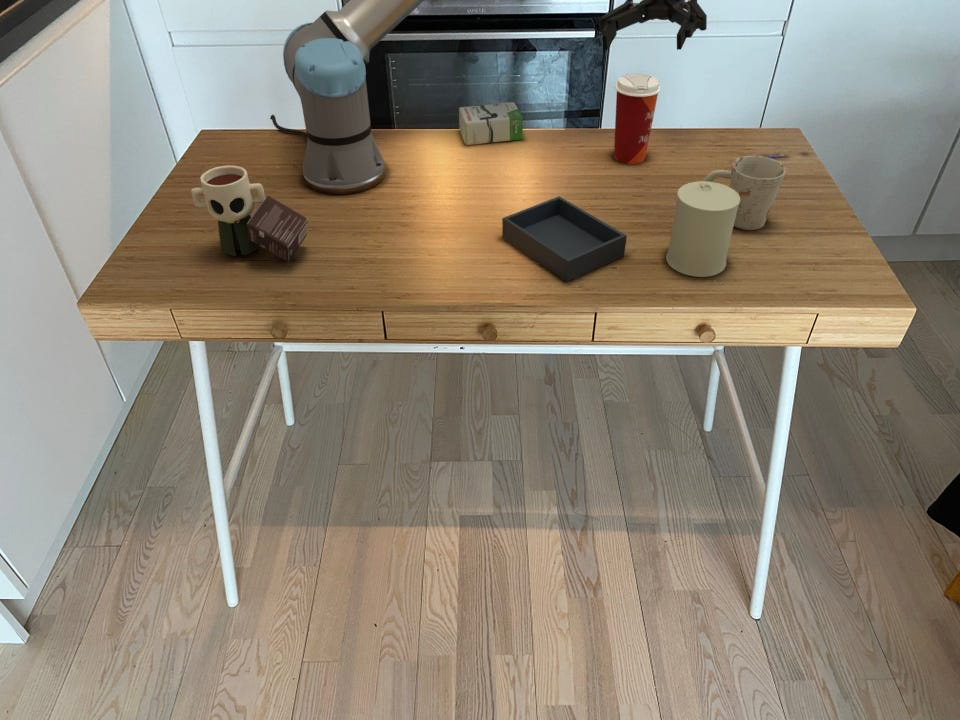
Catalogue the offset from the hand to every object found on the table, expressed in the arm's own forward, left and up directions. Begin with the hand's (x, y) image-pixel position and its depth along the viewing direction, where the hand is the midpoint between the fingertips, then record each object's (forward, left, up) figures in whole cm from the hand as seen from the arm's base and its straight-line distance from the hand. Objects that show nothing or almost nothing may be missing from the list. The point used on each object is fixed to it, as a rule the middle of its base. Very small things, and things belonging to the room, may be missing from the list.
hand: (641, 42), depth 140 cm
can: (+36, -21, -21) cm, 46 cm away
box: (-2, -70, -17) cm, 72 cm away
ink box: (-19, -12, -18) cm, 29 cm away
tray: (+20, -35, -20) cm, 45 cm away
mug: (+31, -6, -21) cm, 38 cm away
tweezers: (+20, +20, -19) cm, 34 cm away
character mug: (-11, -77, -20) cm, 80 cm away
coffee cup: (+3, -3, -21) cm, 21 cm away
